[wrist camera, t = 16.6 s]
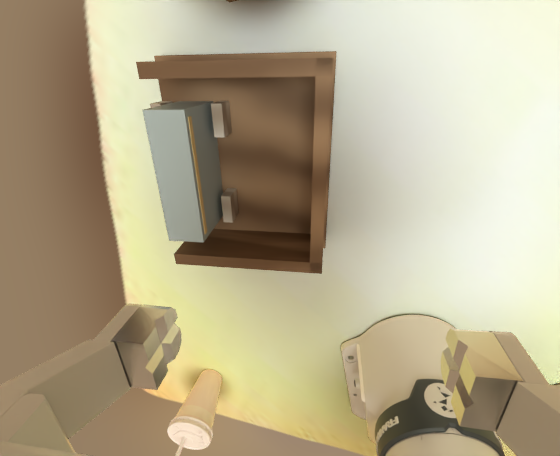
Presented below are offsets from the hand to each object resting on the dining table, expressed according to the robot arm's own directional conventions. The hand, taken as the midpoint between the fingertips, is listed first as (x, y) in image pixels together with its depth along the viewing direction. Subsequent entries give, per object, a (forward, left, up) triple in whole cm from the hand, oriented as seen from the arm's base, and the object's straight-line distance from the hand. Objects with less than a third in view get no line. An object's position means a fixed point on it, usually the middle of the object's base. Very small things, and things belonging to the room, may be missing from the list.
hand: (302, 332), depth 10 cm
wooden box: (-2, +8, -27) cm, 28 cm away
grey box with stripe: (-2, +13, -25) cm, 28 cm away
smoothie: (-39, +17, -27) cm, 50 cm away
